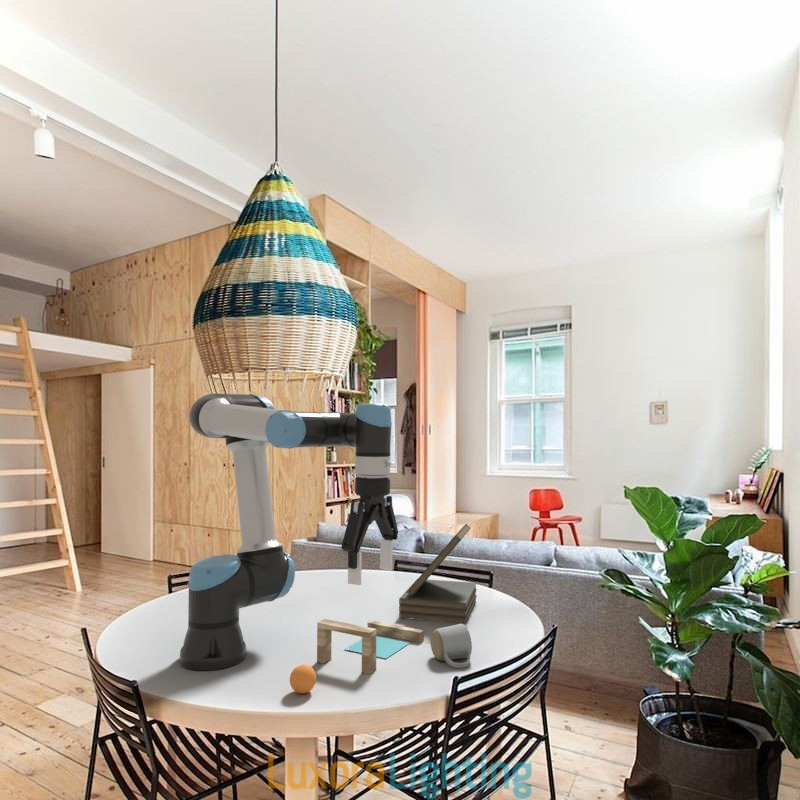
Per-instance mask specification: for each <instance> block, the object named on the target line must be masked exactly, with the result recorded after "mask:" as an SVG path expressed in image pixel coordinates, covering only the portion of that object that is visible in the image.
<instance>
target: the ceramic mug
mask: <svg viewBox="0 0 800 800" xmlns="http://www.w3.org/2000/svg"><path fill="white" fill-rule="evenodd" d="M430 648H431V652H432V654H433V656H434V657H435V659H436V660H438V661H441V662H442V661H445V663H447V664H448V665H449V666H450V667H452V668H454V669H465V668H467V667H468V666H469V664H470V663H471V662H470V661H471V655H472V651H473V650H472V649H473V643H472V638H471V634H470V631H469V630H468V627H467V626H466V624H463V623H456V624H454V625H449V626H445V627H440V628H436V629H435V630H433V631H432V632H431V634H430ZM461 659H466V661H465V662H455V661H453V660H461Z"/></svg>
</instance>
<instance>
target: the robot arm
mask: <svg viewBox="0 0 800 800" xmlns="http://www.w3.org/2000/svg"><path fill="white" fill-rule="evenodd" d="M188 415H189V423H190V425H191V427H192V429H193V430H194V431H195V432H196V433H197V434H199V435H200V436H202V437H206V438H209V439H225V447H226V448H227V449H228V450H229V451H231V453H232V459H233V469H234V477H235V487H236V497H237V507H238V508H237V509H238V517H239V527H240V536H241V546H240V547H239V548H238V549H237V551H236V555H235V554H222V555H218V554H217V555H212V556H209V557H205V558H203V559H200V560H198V561H196V562H195V563H194V564H192V566H191V567H190V570H189V577H188V582H187V588H188V610H187V611H188V616H187V617H188V621H187V626H188V627H187V631H186V633H185V637H184V640H183V645H182V647H181V649H180V651H179V663H180V666H182V667H183V668H185V669H189V670H194V671H215V670H221V669H225V668H226V669H227V668H229V667H230V668H231V667H233V666H235V665H237V664H239V663H241V662H242V661H244V660H245V658H246V656H247V645H246V642H245V641H244V636H243V632H242V629H241V625H240V609H243V608H247V607H251V606H254V605H258V604H262V603H266V602H273V601H275V600H277V599H280V598H283V597H285V596H286V595H287V594H288V593H289V592H290V591H291V588H292V587H293V585H294V581H295V575H296V567H295V563H294V559H292V556H291V555H290V554H289V553H288V552H286V551H284V547H283V543H281V542H279V540H277V539H276V529H275V523H274V522H275V518H274V513H273V502H272V494H271V493H272V492H271V484H270V476H269V475H270V474H269V467H268V466H269V465H268V457H267V456H268V455H267V447H268V446H269V445H271V446H273V447H274V448H280V449H294V448H320V447H321V448H323V447H324V448H325V447H327V448H328V447H352V448H355V451H354V452H355V454H354V455H355V458H354V459H355V460H354V462H355V463H354V474H355V475H357V476H356V477H355V478H354V493H355V495H357V496H359V502H358V501H351V502H350V512H349V515H348V516H349V517H348V520H347V523H346V527H345V528H346V529H345V532H344V535H343V538H342V543H341V547H340V548H341V550H342V551H343V552H347V584H350V585H356V586H361V585H362V559H363V558H362V557H363V556H362V553H363V552H362V551H360V550H361V547H362V545H363V542H364V539H365V537H366V534H367V531H368V528H369V526H370V525H372V524H373V522H374V521H375V523H376V526H377V527H378V530H379V533H380V535H381V537H382V538H381V539H380V546H379V548H380V550H379V551H380V552H379V555H380V556H379V559H380V560H379V570H383V571H393V560H394V559H393V556H394V555H393V553H394V551H393V548H394V547H393V545H394V541H397V540H398V537H399V536H398V535H399V528H398V524H397V521H396V516H395V512H394V507H393V497H392V495H390V494H391V478H390V477H389V476H388V475H390V474H391V465H392V461H391V443H392V442H391V440H392V439H391V438H392V425H393V423H392V413H391V406H389V404H387V403H358V404H357V405H356V407H355V412H337V411H336V412H334V411H331V412H329V411H328V412H327V411H326V412H325V411H324V412H321V411H320V412H319V411H316V412H315V411H293V410H285V409H277V408H275V406H274V404H273V403H272V401H270V400H269V399H268V398H267V397H265V396H263V395H256V394H252V393H251V394H250V393H249V394H244V393H243V394H242V393H241V394H239V393H238V394H237V393H218V392H217V393H209V394H205V395H204V396H201V397H199V398H197V400H195V401H194V403H193V404H192V405H191V408H190V409H189V414H188ZM393 540H394V541H393Z"/></svg>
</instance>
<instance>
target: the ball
mask: <svg viewBox="0 0 800 800" xmlns="http://www.w3.org/2000/svg"><path fill="white" fill-rule="evenodd" d="M316 681H317V674H316V672H315V670H314V668H313V667H312V666H310V665H308V664H298V665H297V666H296V667H294V669H292V671H291V673H290V675H289V685H290V687H291V689H292V690H293V691H295V693H297V694H306V693H307V694H308V693H309V692H311V691H312V689H313V688H314V687H315V685H316V683H317V682H316Z"/></svg>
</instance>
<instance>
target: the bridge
mask: <svg viewBox="0 0 800 800" xmlns="http://www.w3.org/2000/svg"><path fill="white" fill-rule="evenodd" d="M316 628H317V629H316V632H317V633H316V663H319V662H321V663H320V664H323V663H324V664H326V663H327V661H328V662H329V661H331V660H332V635H333V634H332V633H333V632H335V633H336V632H337V633H342V634H346V635H352V636H356V637H361V639H362V654H361V673H362V672H363V673H362V674H365V673H367V674H366V675H371V674H372V673H374V672H375V671H377V657H376V636H377V634H376V629H374V628H369V627H368V626H363V625H359V624H353V623H352V624H351V623H348V622H343V621H338V620H331V619H326V618H324V619H321V620H320V621H317V625H316ZM332 631H333V632H332ZM330 659H331V660H330ZM325 662H326V663H325ZM373 671H374V672H373Z"/></svg>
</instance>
